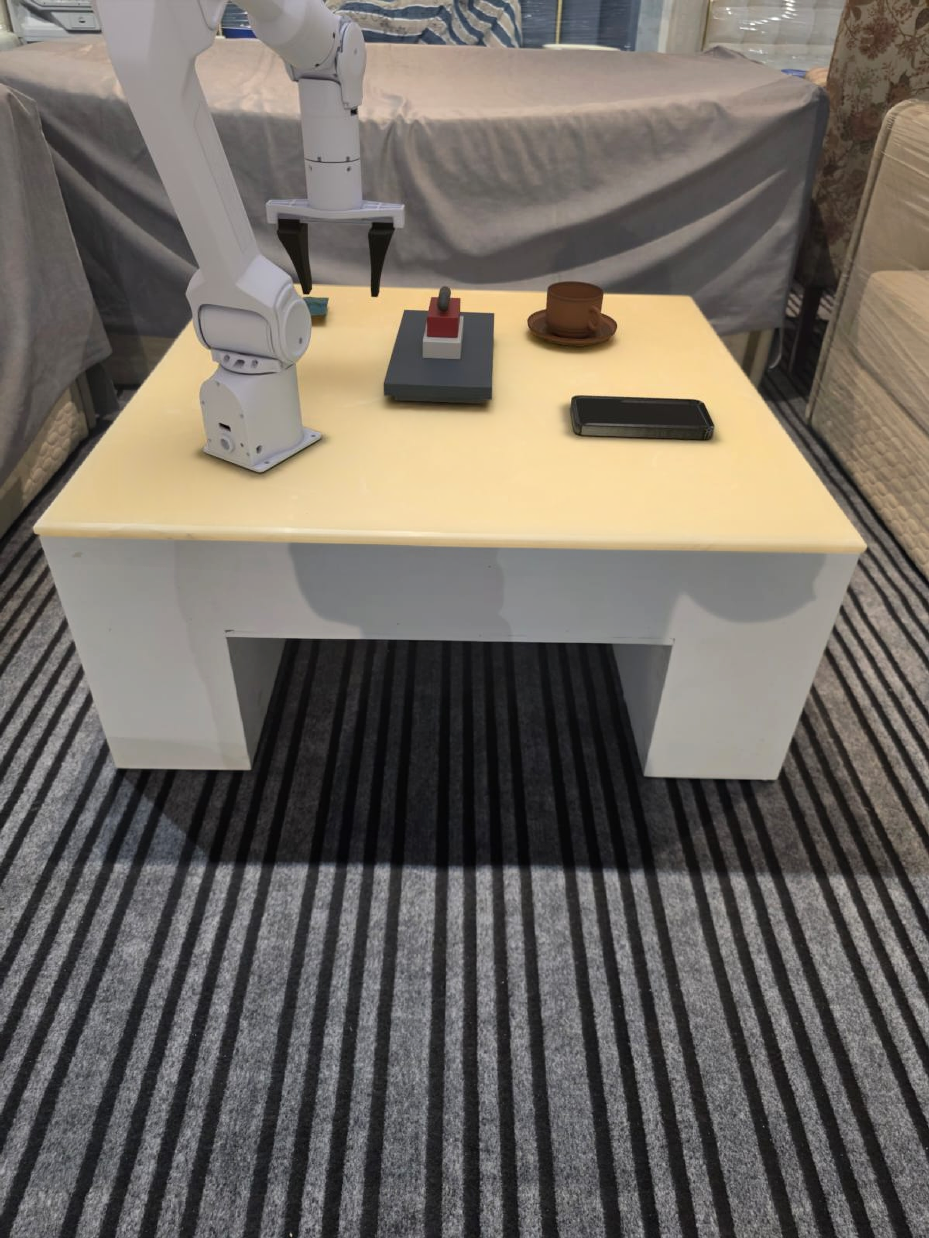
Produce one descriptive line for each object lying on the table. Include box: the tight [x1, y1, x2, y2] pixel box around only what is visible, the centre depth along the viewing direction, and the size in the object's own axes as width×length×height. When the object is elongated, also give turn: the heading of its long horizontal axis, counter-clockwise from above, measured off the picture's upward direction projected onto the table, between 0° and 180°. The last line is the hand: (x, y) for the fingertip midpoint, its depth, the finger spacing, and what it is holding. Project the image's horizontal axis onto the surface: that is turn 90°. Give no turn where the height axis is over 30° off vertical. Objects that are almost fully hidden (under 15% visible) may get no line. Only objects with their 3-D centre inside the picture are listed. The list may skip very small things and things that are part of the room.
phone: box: [569, 394, 715, 440], centre depth 92 cm, size 8×1×15 cm
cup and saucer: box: [526, 280, 618, 347], centre depth 111 cm, size 12×12×6 cm
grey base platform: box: [383, 309, 495, 405], centre depth 102 cm, size 24×12×3 cm, turn 178°
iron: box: [423, 285, 464, 359], centre depth 99 cm, size 9×4×6 cm, turn 178°
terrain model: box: [302, 296, 330, 317], centre depth 115 cm, size 13×8×2 cm, turn 97°
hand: (341, 293), depth 94 cm, fingers open, 7 cm apart
